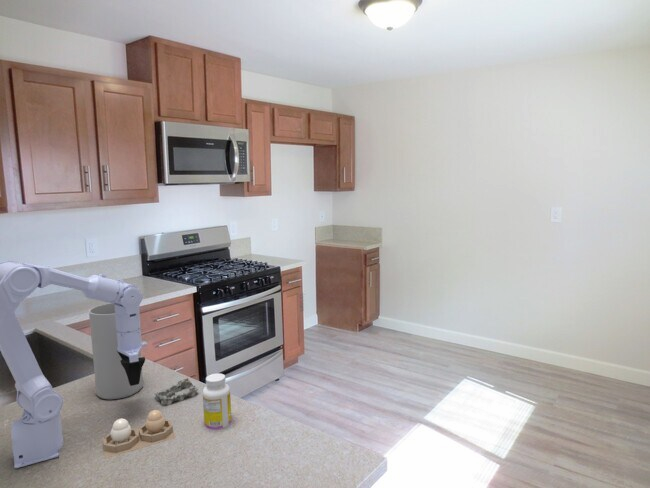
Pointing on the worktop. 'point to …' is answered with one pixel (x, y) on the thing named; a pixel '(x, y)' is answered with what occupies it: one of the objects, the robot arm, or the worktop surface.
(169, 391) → the egg carton
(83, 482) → the worktop surface
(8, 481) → the worktop surface
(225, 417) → the supplement bottle
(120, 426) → the cream egg
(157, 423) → the brown egg
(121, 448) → the egg tray
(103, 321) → the cylinder vase
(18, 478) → the worktop surface
